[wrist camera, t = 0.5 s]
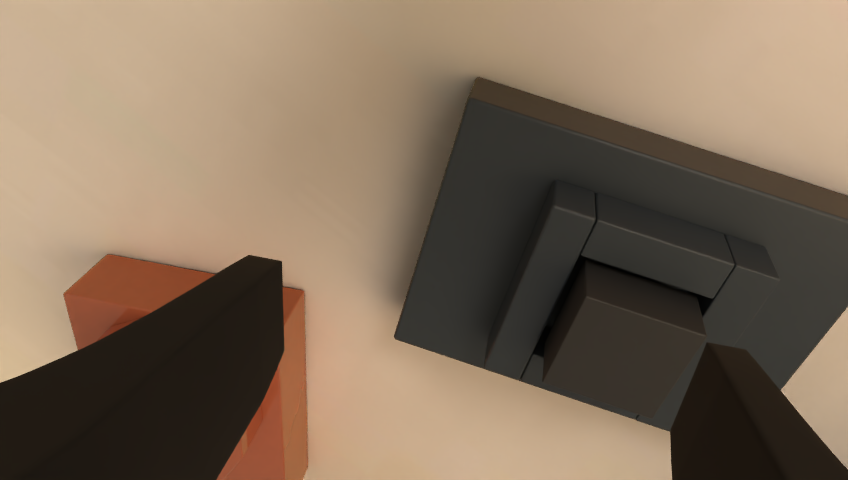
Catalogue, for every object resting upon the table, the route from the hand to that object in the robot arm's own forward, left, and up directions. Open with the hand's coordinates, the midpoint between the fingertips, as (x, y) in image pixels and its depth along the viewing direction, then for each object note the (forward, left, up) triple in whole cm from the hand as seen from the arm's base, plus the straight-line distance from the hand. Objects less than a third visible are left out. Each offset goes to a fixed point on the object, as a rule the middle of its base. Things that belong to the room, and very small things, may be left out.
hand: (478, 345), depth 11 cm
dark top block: (-4, -4, -7) cm, 9 cm away
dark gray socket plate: (-4, -4, -10) cm, 11 cm away
